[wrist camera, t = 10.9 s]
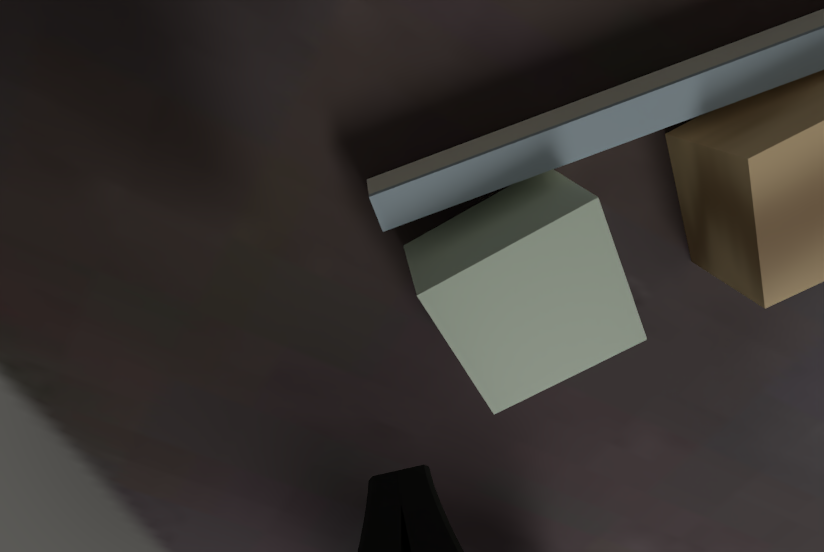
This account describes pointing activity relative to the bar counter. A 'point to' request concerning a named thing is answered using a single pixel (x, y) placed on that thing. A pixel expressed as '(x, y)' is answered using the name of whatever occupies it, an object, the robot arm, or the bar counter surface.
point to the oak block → (756, 190)
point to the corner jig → (600, 121)
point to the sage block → (526, 288)
